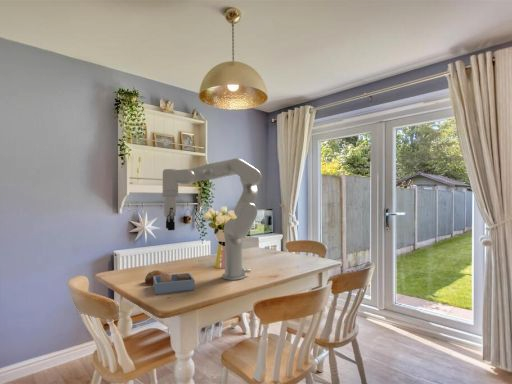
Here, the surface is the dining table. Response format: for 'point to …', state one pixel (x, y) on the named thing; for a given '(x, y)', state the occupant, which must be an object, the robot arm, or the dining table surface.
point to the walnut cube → (182, 277)
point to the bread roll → (151, 277)
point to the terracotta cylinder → (166, 277)
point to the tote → (173, 284)
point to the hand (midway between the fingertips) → (170, 229)
